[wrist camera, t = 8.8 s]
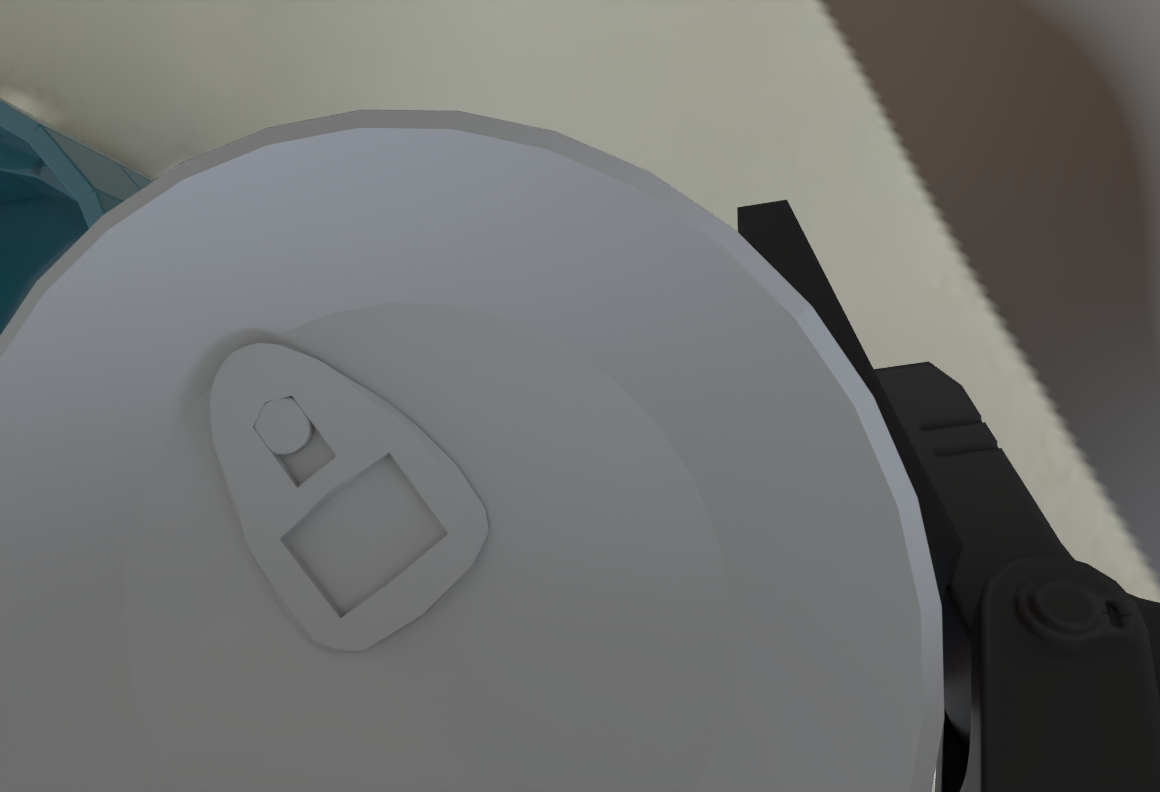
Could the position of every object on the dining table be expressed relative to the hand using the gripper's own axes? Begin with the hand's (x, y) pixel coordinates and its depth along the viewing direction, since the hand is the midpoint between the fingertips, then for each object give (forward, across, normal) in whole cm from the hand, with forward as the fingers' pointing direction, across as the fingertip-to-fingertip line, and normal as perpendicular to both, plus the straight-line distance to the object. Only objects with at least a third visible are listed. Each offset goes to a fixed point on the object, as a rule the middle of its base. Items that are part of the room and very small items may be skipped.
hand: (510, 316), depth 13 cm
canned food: (0, 0, -5) cm, 5 cm away
